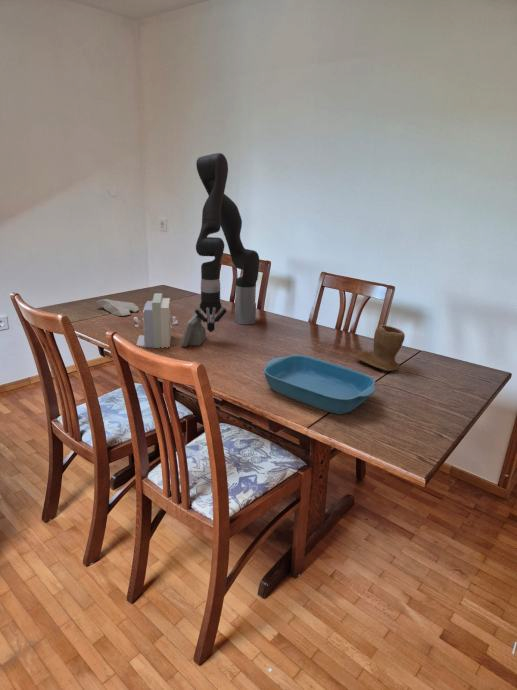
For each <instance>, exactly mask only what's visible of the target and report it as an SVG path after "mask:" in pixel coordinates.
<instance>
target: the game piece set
mask: <svg viewBox="0 0 517 690" xmlns="http://www.w3.org/2000/svg"><path fill="white" fill-rule="evenodd" d="M141 320H142V321H143V317H142V319H141ZM141 320H140V319H139V318H138V317H137V316H134V317H133V321H135V325H134V327H135V328H140V325H139V324H140V323H141ZM177 324H179V320H178V319H177V317H176V316H172V324H171V330H172V329H173V326H172V325H174V326H177ZM142 329H143V331H144V328H142Z"/></svg>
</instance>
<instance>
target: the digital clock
mask: <svg viewBox="0 0 517 690" xmlns="http://www.w3.org/2000/svg"><path fill="white" fill-rule="evenodd" d="M201 313H202V315H203V316H204V312H203V311H201ZM202 322H203V321H202V320H201V318H200V317H199V316H198V315H197V314H196V313H195V314H194V315H192V317H191V318H189V320H188V321H187V323H186V326H185V329H184V331H183V335H182V339H181V341H180V345H181V347H183V348H186V347H187V346H200V345H201V344H202V343H204V341H205V340H206V338H207V334H206V330H207V329H206V327H205V326H203V325H202Z"/></svg>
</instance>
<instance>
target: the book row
mask: <svg viewBox="0 0 517 690" xmlns="http://www.w3.org/2000/svg"><path fill="white" fill-rule="evenodd" d="M142 318H143V320H142V321H143V323H142V324H143V325H142V326H143V329H144V330H143V334H140V335H139V336H138V338H137V342H136V344H135V346H136V345H138V346H140V347H139V348H147V347H148V348H154V349H161V348H162V349H165V348H164V347H166V349H167V348H168V347H170V348H171V339H172V329H171V325H172V322H171V320H172V319H171V318H172V317H171V298H170V297H166V298H165V297H163V293H161V292H160V293H158V292H157V293H154V294H153V298H152V300H147V301H146V303H144V307H143V311H142ZM160 347H161V348H160ZM168 349H169V348H168Z"/></svg>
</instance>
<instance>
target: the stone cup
mask: <svg viewBox="0 0 517 690" xmlns="http://www.w3.org/2000/svg"><path fill="white" fill-rule="evenodd" d="M405 337H406V336H405V332H403V330H401V329H399V328H396V327H394V326H390V325H385V324H380V325H379V326H377V328H376V329H375V332H374V336H373V351H363V350H362V351H360V352H358V353H356V354H355V355H354V358H355V360H358V361H360V362H362V363H364V364H366V365H369V366H371V367H374V368H377V369H379V370H383V371H385V372H393V371H396V370H398V369H399V368H400V364H399V363H398V362H396V357H397V355H398V353H399V351H400V349H401V347H402V346H403V343H404V341H405Z"/></svg>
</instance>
